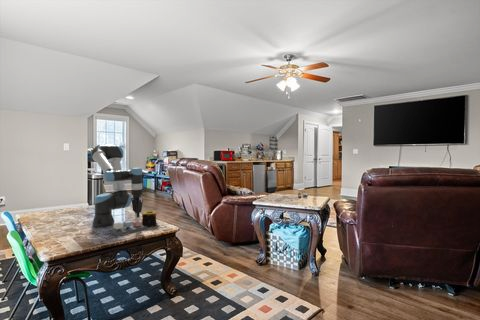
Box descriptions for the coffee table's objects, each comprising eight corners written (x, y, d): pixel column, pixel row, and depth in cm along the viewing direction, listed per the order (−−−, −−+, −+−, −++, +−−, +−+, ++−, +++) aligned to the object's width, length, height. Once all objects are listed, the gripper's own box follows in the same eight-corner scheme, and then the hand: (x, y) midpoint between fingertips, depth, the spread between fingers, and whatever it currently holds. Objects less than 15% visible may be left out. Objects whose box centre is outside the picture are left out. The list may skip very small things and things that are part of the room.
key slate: (123, 228, 194) (123, 221, 193) (129, 227, 197) (129, 220, 197) (126, 229, 191) (126, 222, 191) (132, 228, 194) (132, 221, 194)
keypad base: (108, 232, 189) (108, 229, 189) (138, 226, 206) (138, 223, 206) (116, 236, 182) (116, 233, 182) (146, 229, 199) (146, 226, 199)
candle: (141, 227, 203) (141, 214, 202) (142, 223, 213) (142, 211, 212) (156, 226, 206) (155, 213, 205) (156, 223, 215) (156, 210, 215)
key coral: (132, 228, 199) (132, 221, 199) (138, 227, 203) (138, 220, 202) (136, 229, 196) (136, 222, 196) (141, 228, 200) (141, 221, 199)
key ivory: (113, 230, 188) (113, 223, 188) (120, 229, 192) (120, 222, 192) (116, 232, 185) (116, 225, 185) (123, 230, 189) (123, 223, 189)
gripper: (127, 188, 200) (127, 220, 200) (136, 190, 191) (137, 224, 192) (137, 187, 205) (137, 218, 206) (146, 189, 197) (146, 221, 198)
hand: (137, 221), depth 199 cm, fingers closed
